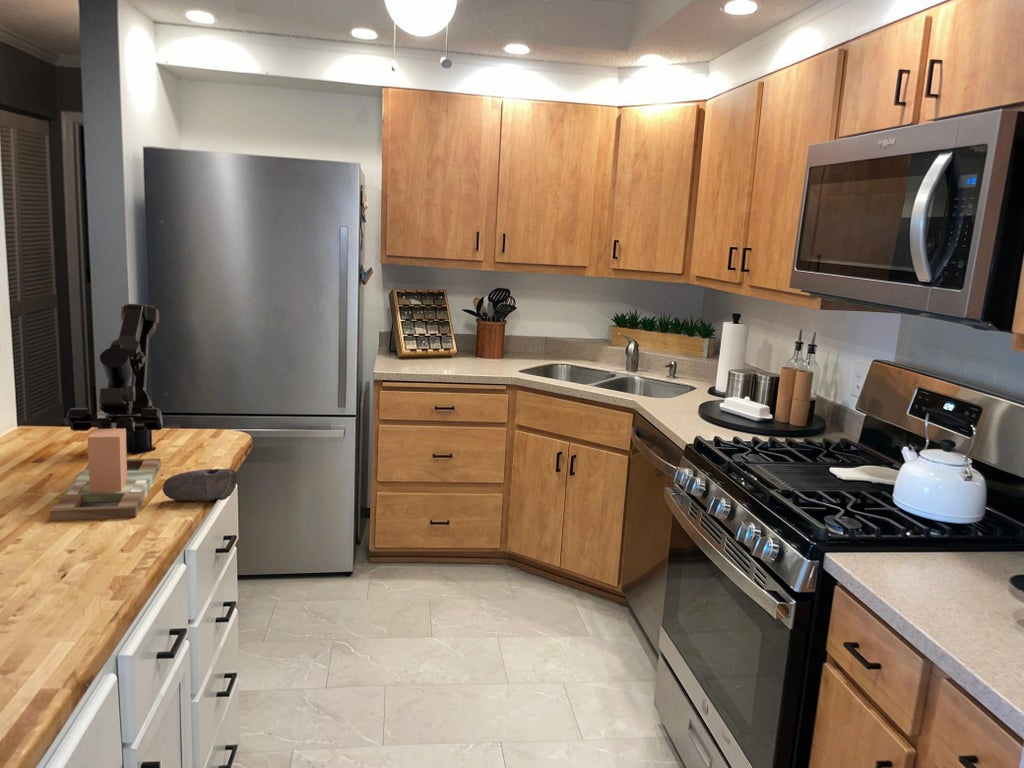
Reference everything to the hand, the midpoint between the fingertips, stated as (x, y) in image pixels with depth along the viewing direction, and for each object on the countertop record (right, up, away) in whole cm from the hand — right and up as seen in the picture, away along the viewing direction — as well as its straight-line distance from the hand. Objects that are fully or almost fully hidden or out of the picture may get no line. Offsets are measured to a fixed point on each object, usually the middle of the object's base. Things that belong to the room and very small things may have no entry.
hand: (111, 452), depth 165 cm
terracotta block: (+1, -7, -2) cm, 8 cm away
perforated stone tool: (+20, -11, -1) cm, 23 cm away
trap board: (0, -9, +1) cm, 9 cm away
